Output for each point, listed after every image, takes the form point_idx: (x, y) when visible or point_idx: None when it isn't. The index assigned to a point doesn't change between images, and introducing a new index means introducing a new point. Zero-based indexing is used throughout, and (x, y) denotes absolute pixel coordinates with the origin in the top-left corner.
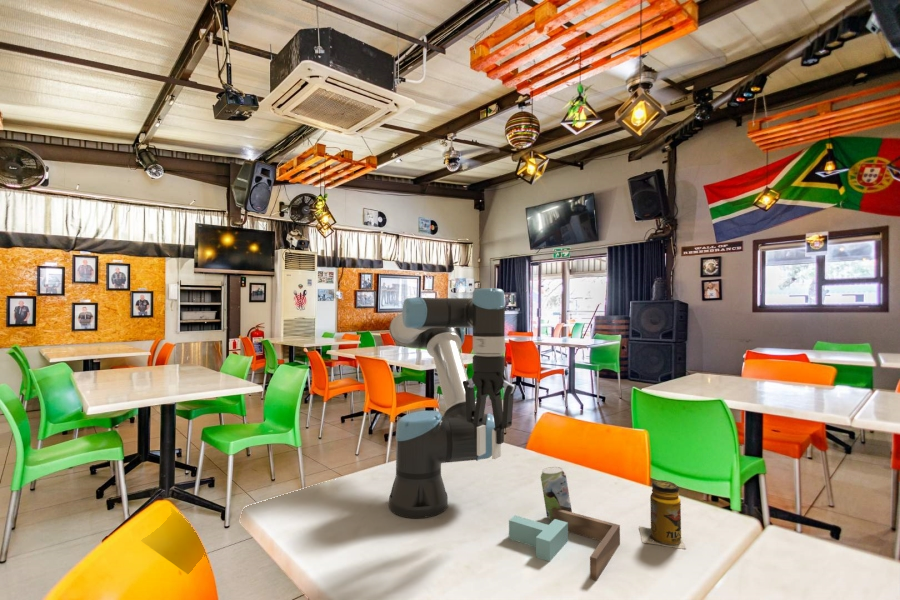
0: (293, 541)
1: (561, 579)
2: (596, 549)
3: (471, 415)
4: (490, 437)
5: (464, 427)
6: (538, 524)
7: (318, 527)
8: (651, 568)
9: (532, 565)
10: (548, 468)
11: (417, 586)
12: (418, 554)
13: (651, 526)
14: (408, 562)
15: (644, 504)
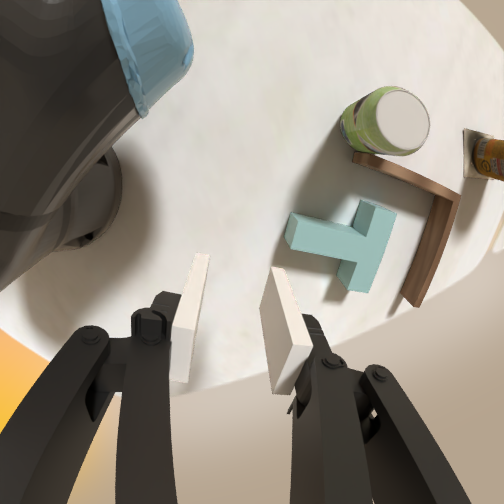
0: (38, 345)
1: (368, 309)
2: (424, 285)
3: (103, 407)
4: (166, 71)
5: (28, 154)
6: (348, 243)
7: (27, 313)
8: (460, 240)
9: (333, 297)
10: (390, 97)
11: (206, 380)
12: None
13: (483, 160)
14: None
15: (460, 46)
